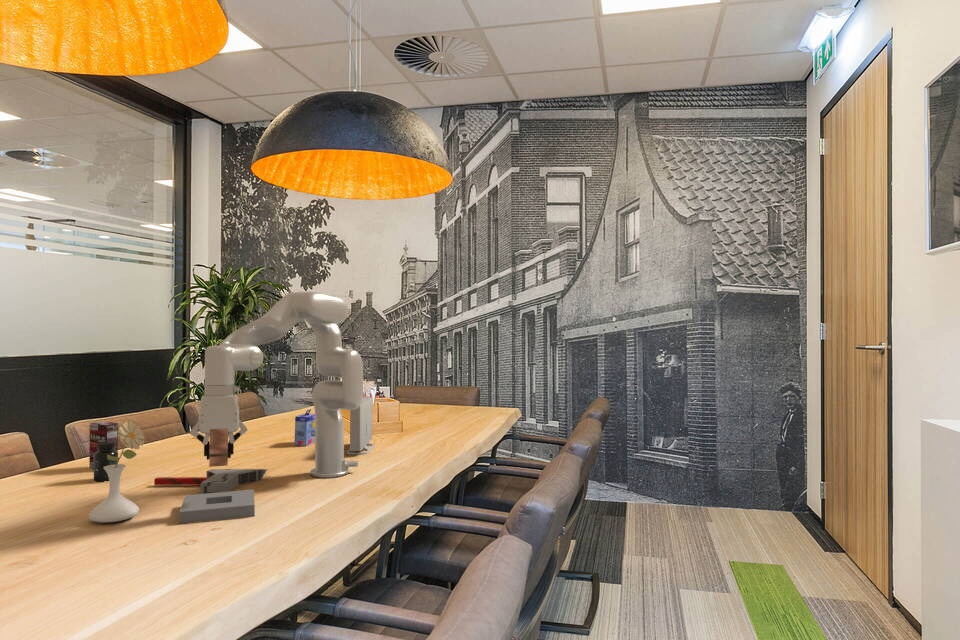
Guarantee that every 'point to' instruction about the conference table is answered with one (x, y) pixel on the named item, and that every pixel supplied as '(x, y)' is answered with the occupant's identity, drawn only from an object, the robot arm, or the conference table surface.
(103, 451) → the supplement bottle
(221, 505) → the board
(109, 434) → the supplement box
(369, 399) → the network device
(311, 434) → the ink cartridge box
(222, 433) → the peg
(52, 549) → the conference table surface
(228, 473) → the grey and red axe
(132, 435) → the flower in vase
